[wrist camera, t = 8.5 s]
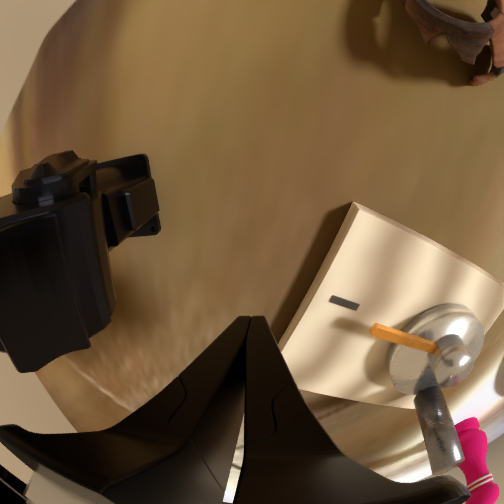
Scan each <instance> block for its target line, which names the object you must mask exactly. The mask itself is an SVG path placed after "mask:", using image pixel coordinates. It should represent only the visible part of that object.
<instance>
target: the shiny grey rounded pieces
mask: <svg viewBox="0 0 504 504" xmlns="http://www.w3.org/2000/svg"><path fill="white" fill-rule="evenodd" d="M370 333H371V336H374V337H377V338H381V339H384V340H387V341H390V342H392V344H391V346H390V348H389V350H388V354H387V367H388V370H389V373H390V377H391V380H392V384H393V386H394V387H395V388H396V389H397V390H398V391H400V392H402V393H404V394H408V395H416V396H415V398H414V400H413V402H414V405H415V409H416V412H417V415H418V419H419V422H420V426H421V429H422V433H423V437H424V441H425V445H426V449H427V453H428V457H429V461H430V465H431V470H432V474H433V475H439V474H443V473H445V472H448V471H450V470H452V469H454V468H455V467H457V466H459V465H460V464H462V463H463V462H464V460H465V457H464V454H463V451H462V447H461V444H460V441H459V438H458V435H457V432H456V429H455V426H454V423H453V420H452V417H451V414H450V412H449V409H448V406H447V404H446V401H445V398H444V396H443V393H442V391H441V388H443V387H444V388H445V387H451V386H453V385H456V384H458V383H459V382H461V381H462V380H464V379H465V378H466V377H467V376H468V375H469V374H470V372H471V371H472V369H473V367H474V361H475V360H476V359H477V357H478V355H479V353H480V351H481V349H482V346H483V343H484V329H483V326H482V325H481V323H480V322H479V320H478V319H477V318H476V316H475V315H474V313H473V312H472V311H471V310H470V309H469V308H468V307H466V306H464V305H462V304H456V303H450V304H444V305H440V306H437V307H434V308H432V309H430V310H428V311H426V312H424V313H422V314H420V315H419V316H417V317H416V318H415V319H413V320H412V321H411V322H410V323H408V324H407V325H406V326H405V327H404V328H403V329H402V330H401V331H399V330H396V329H393V328H390V327H387V326H384V325H381V324H378V323H375V324H374V325H373V326H372V328H371V329H370Z"/></svg>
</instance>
